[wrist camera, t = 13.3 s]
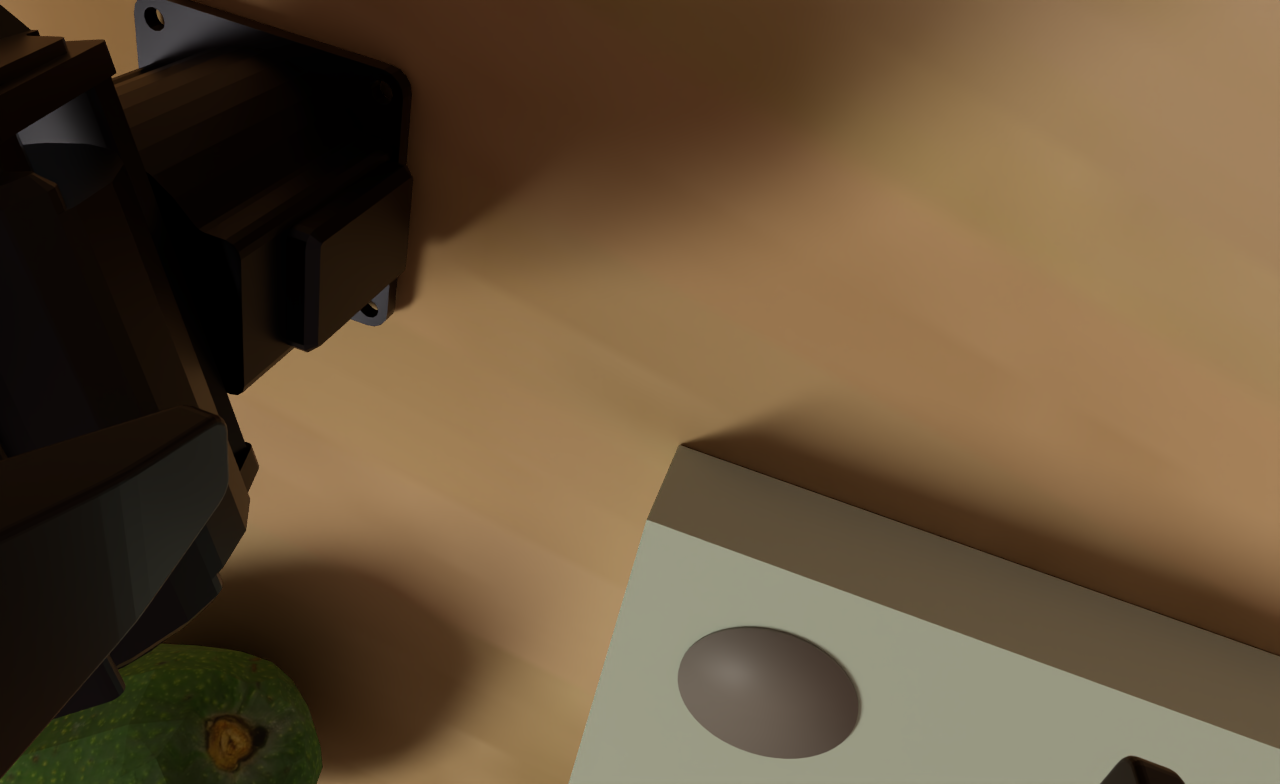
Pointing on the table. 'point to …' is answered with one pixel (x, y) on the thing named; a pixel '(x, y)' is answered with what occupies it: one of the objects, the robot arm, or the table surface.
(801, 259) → the table surface
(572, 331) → the table surface
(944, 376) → the table surface
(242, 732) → the fruit
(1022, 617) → the seat board
